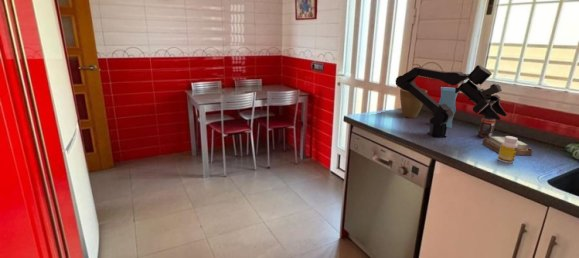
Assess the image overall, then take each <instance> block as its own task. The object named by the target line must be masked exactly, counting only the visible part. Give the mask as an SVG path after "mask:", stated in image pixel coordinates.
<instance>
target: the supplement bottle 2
mask: <svg viewBox="0 0 579 258" xmlns="http://www.w3.org/2000/svg"><path fill="white" fill-rule="evenodd" d="M504 137H505V141H503V142H502V144H501V148H500V151H499V153H498V155H497V160H499V162H502V163H505V164H513V163H514V162H515V158H516V156H517V155H516V151H517V148H518V145H517V144H516V142H517V140H518V137H517V136H516V137H515V136H511V135H506V136H504Z"/></svg>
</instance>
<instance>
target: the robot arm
mask: <svg viewBox="0 0 579 258" xmlns="http://www.w3.org/2000/svg"><path fill="white" fill-rule="evenodd" d="M492 74H493V73H492V72H491V71H490V70H489V69H488V68H485V67H483V66H481V64H477V65H476V66H475V67H474V69H473V70H472V71H470V73H464V72H463V71H441V70H437V69H429V68H425V67H421V66H416V67H413V68H412V69H410V70H409V71H407V72H405V73H403V74H402V75H399V76H397V77H396V78H395V85H396V86H397V87H398V88H399V89H400V88H401V89H403V90H406V91H408V92H410V93H411V94H412V95H413V96H415V97H416V98H417V99H418V100H419V101H420V102H422V103H423V106H426V108H428V109H429V110H430V112H431V113H432V114H431V115H433V116H432V117H431V118H429V123H430V126H429V131H427V134H429V135H430V136H431V137H432V138H446V137H447V136H446V134H447V129H448V127H446V125H447V124H445V123H447V122H448V120H450V119H452V117H453V118H454V116H453V111H452V110H451V109H452V108H449V107H448V106H447V105H446V104H445V103H444V104H441V105H440V104H438V103H439V102H437V101H436V100H434V98H432V97H431V96H430V95H429V94H428V93H427V94H426V93H425V92H424V91H422V90H421V89H422V88H420V87H419V86H418V85H417V84H416V82H415V80H416V79H417V78H418V77H424V78H428V79H433V80H439V81H442V82H444V83H445V84H448V85H450V86H456V85H459V86H456V87H454V88H455V93H460V92H461V93H462V94H464V95H465V97H467V98H468V101H469V102H473V103H474V106H473V107H472V111H473V113H475V114H477V115H481V116H484V117H485V116H488V117H491V118H494V119H495V120H497V121H500V120H501V117H507V115H508V114H507V112H506V111H505V110H504V108H503V106H502V105H501V97H500V96H499V95H498V93H500V92H502V91H503V90H502V88H501V85H499V84H496V83H493V84H491V85H490V86H489V87H488V88H487V89H484V88H480V87H478V85H483V84H484V82H486V81H487V80H488V79H489V78H490V77H491V76H492ZM464 81H465V82H464ZM500 115H501V116H500Z"/></svg>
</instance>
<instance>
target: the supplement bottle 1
mask: <svg viewBox="0 0 579 258" xmlns="http://www.w3.org/2000/svg"><path fill="white" fill-rule="evenodd" d="M496 120H497V119H494V118H491V117H488V116H484V117H482V118H481V120H480V123H479V128H478V133H477V135H478V137H480V138H484V139H485V138H488V139H489V137H493V134H494V130H495V125H496Z"/></svg>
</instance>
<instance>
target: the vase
mask: <svg viewBox="0 0 579 258" xmlns="http://www.w3.org/2000/svg"><path fill="white" fill-rule="evenodd" d="M457 96H458V93H455V87H444V86H441V87H440V99H439V102H437V103H438V104H440V105H441V104H444V103H445V104H446V105H447V106H448V107H449V108H452V109H451V110H452V111H453V117H452V119H450V120H448V122H447V123H445V124H447V125H446V127H447V129H449V128H451V129H452V128H453V118H454V116H455V113H456V112H457V109H456V99H457Z"/></svg>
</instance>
